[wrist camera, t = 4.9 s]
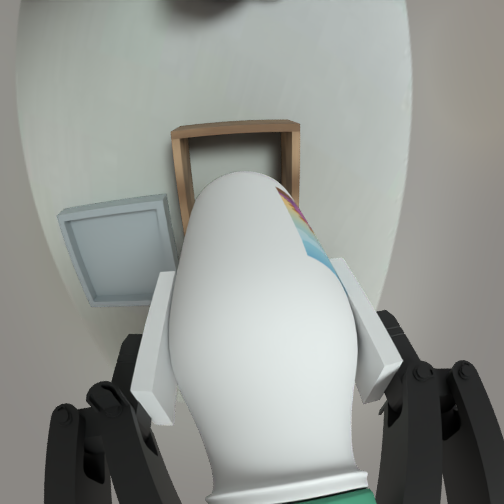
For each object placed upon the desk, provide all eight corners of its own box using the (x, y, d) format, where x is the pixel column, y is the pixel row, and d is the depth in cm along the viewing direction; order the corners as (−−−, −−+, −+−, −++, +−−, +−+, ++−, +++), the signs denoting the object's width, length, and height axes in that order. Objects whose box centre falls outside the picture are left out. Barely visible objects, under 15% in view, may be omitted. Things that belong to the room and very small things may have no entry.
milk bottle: (188, 258, 22) (163, 547, 5) (196, 162, 18) (105, 567, 1) (282, 266, 23) (356, 529, 6) (305, 177, 19) (502, 472, 2)
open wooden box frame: (180, 126, 30) (170, 131, 25) (287, 119, 30) (299, 123, 25) (191, 222, 36) (186, 244, 31) (287, 215, 37) (297, 236, 32)
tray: (64, 208, 33) (56, 215, 31) (166, 193, 34) (162, 200, 32) (95, 297, 41) (90, 306, 39) (185, 293, 42) (183, 303, 40)
